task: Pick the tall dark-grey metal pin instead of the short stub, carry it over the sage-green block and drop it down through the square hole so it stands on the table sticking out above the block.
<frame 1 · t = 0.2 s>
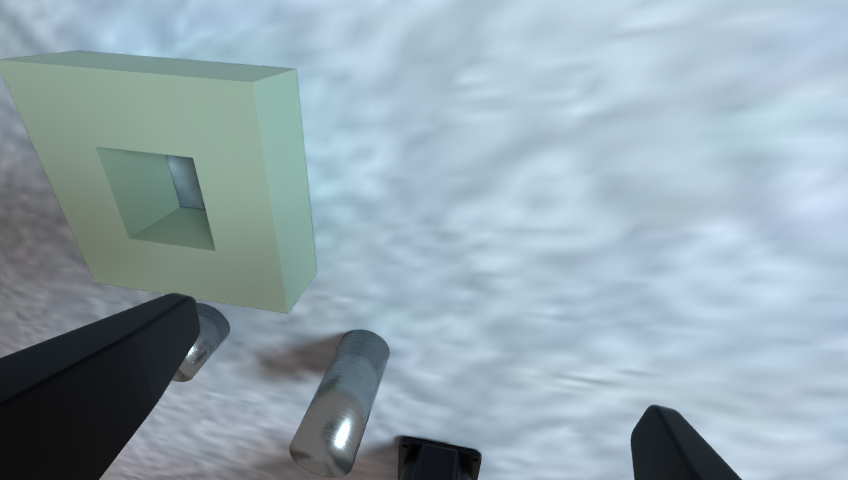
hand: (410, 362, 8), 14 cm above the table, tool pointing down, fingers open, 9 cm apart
long pin: (365, 348, 28), on the table
short pin: (207, 322, 30), on the table
hole block: (208, 172, 23), on the table
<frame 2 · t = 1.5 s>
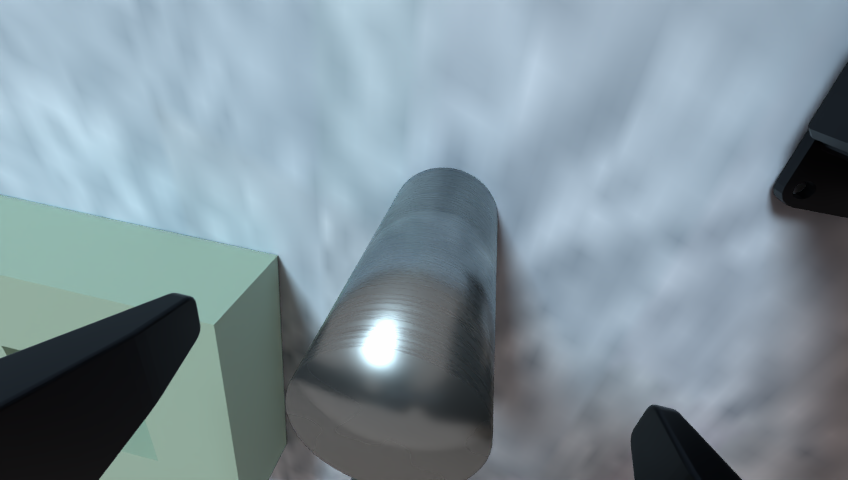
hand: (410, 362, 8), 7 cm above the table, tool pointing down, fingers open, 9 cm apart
long pin: (444, 217, 14), on the table
hole block: (160, 335, 19), on the table
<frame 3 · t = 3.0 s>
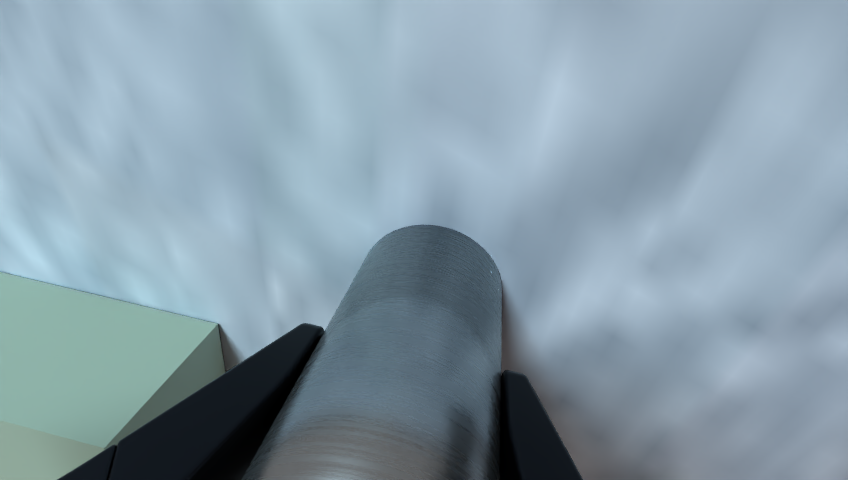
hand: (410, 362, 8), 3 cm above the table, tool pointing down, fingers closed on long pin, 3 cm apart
long pin: (430, 287, 10), on the table, touching gripper
hole block: (89, 405, 16), on the table
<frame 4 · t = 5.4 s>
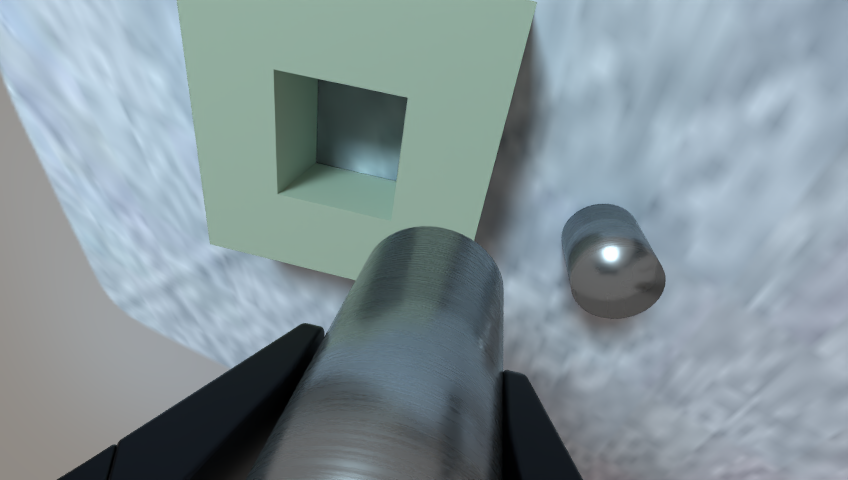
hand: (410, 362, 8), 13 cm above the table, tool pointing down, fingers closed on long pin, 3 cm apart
long pin: (431, 288, 10), point 10 cm above the table, touching gripper
short pin: (599, 236, 20), on the table
hole block: (367, 124, 19), on the table
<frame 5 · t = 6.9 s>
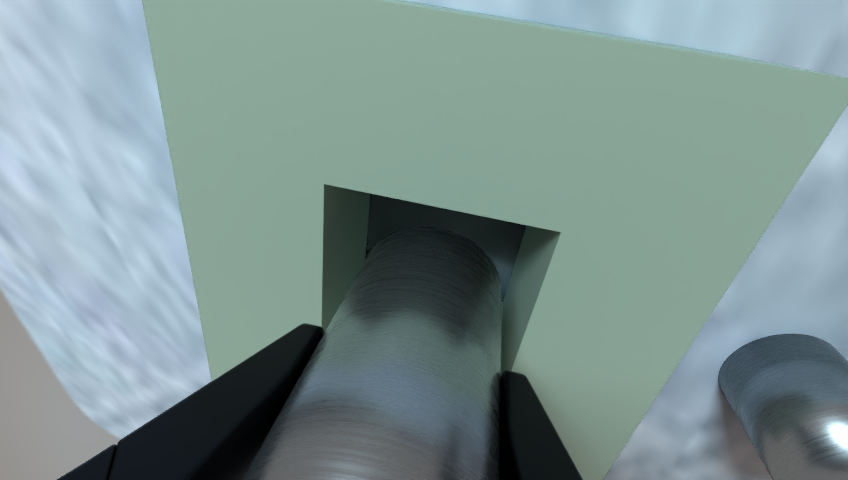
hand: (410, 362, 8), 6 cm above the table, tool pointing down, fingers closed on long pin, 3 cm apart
long pin: (429, 289, 10), point 3 cm above the table, touching gripper
short pin: (777, 373, 14), on the table
hole block: (444, 225, 13), on the table
when the fingers open (5 cm above the table, at t = 7.8 s): long pin drops 2 cm, resting in hole block.
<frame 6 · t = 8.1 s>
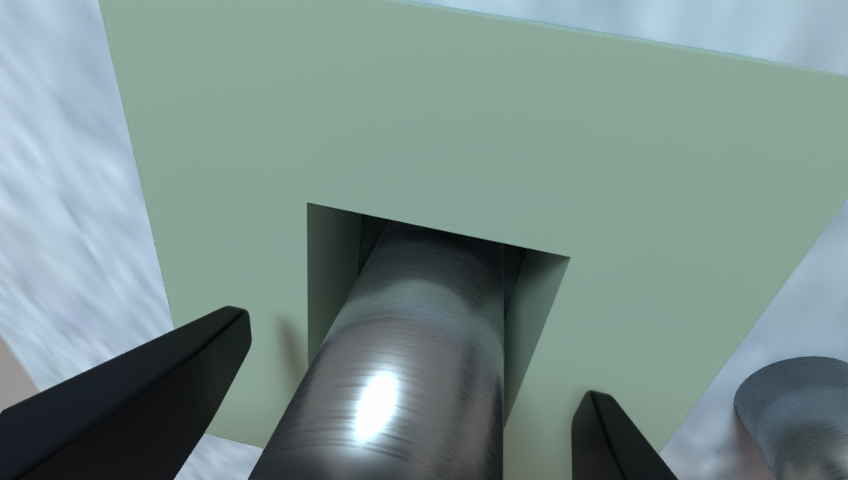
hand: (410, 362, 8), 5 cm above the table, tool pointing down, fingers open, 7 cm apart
long pin: (444, 240, 12), resting in hole block
short pin: (798, 397, 13), on the table
hole block: (442, 239, 12), on the table
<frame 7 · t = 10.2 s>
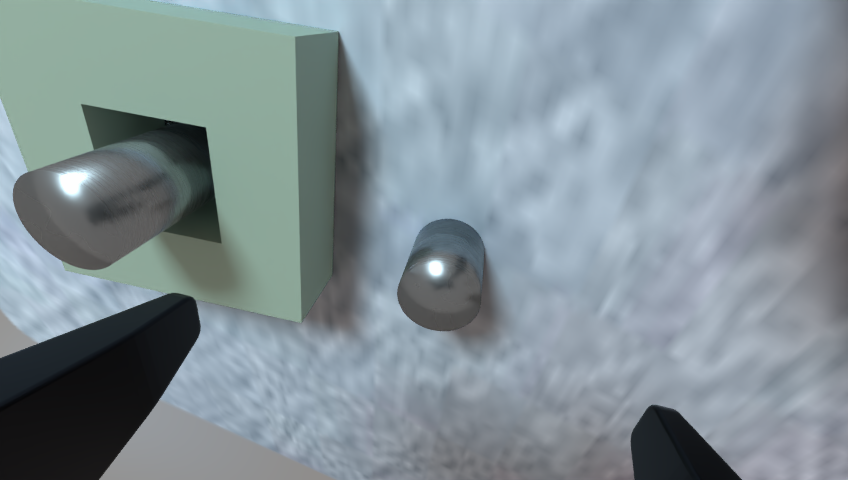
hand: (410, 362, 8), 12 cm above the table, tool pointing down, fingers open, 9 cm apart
long pin: (218, 150, 20), resting in hole block
short pin: (449, 250, 20), on the table
hole block: (216, 149, 20), on the table
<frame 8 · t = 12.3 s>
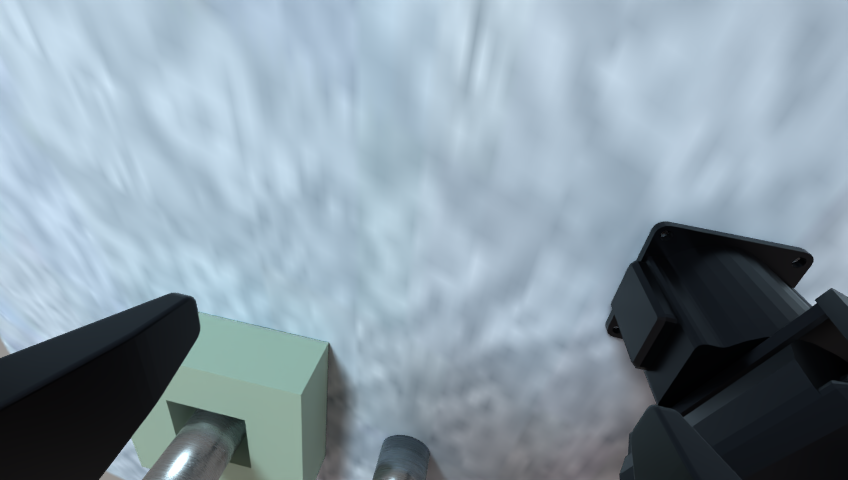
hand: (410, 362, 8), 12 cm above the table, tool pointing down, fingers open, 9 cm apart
long pin: (246, 385, 29), resting in hole block
short pin: (405, 450, 29), on the table
hole block: (245, 384, 29), on the table
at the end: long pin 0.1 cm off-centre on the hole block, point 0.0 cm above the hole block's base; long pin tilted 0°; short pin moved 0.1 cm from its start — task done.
